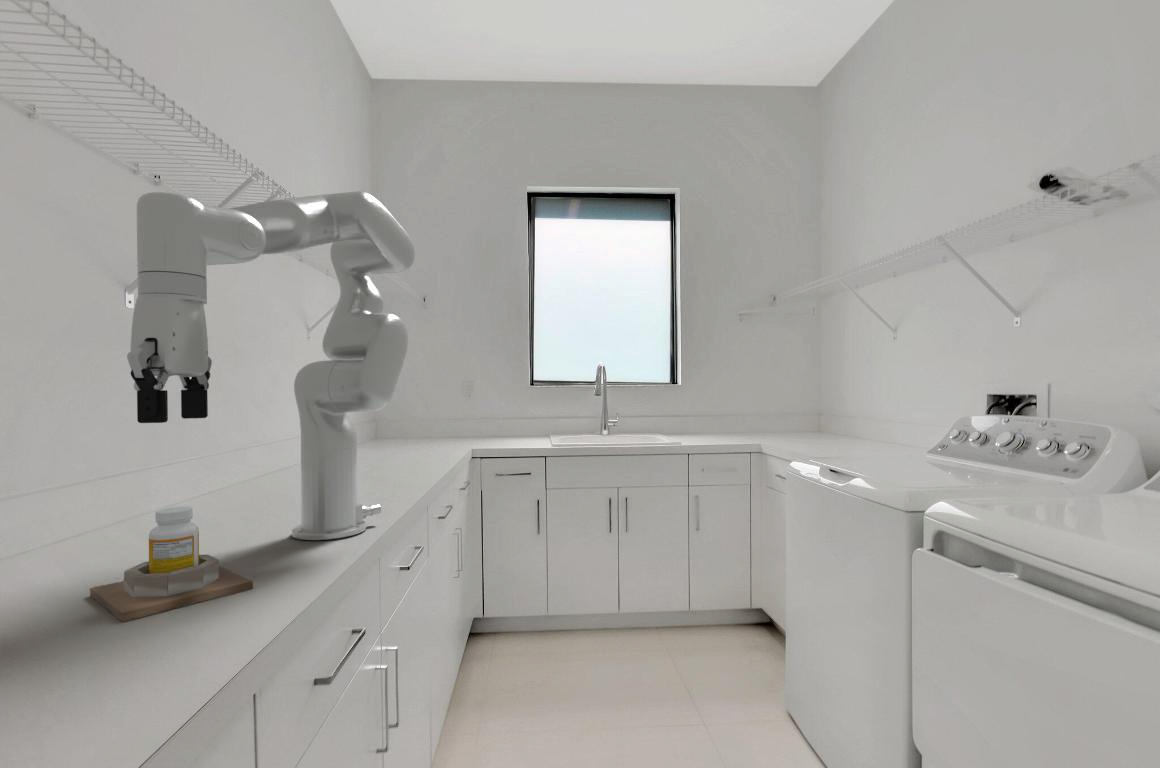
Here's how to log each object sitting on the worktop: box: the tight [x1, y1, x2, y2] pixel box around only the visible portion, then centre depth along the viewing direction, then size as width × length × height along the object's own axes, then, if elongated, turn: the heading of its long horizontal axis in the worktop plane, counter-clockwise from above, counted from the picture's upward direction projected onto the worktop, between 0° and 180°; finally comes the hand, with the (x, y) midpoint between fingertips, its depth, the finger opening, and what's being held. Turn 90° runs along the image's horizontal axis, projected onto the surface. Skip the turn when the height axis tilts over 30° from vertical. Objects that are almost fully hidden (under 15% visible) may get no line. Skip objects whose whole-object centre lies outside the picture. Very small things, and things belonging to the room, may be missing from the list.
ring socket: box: [89, 554, 254, 623], centre depth 76 cm, size 14×14×4 cm
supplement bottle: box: [148, 506, 200, 574], centre depth 77 cm, size 5×5×10 cm
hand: (175, 420), depth 77 cm, fingers open, 9 cm apart
